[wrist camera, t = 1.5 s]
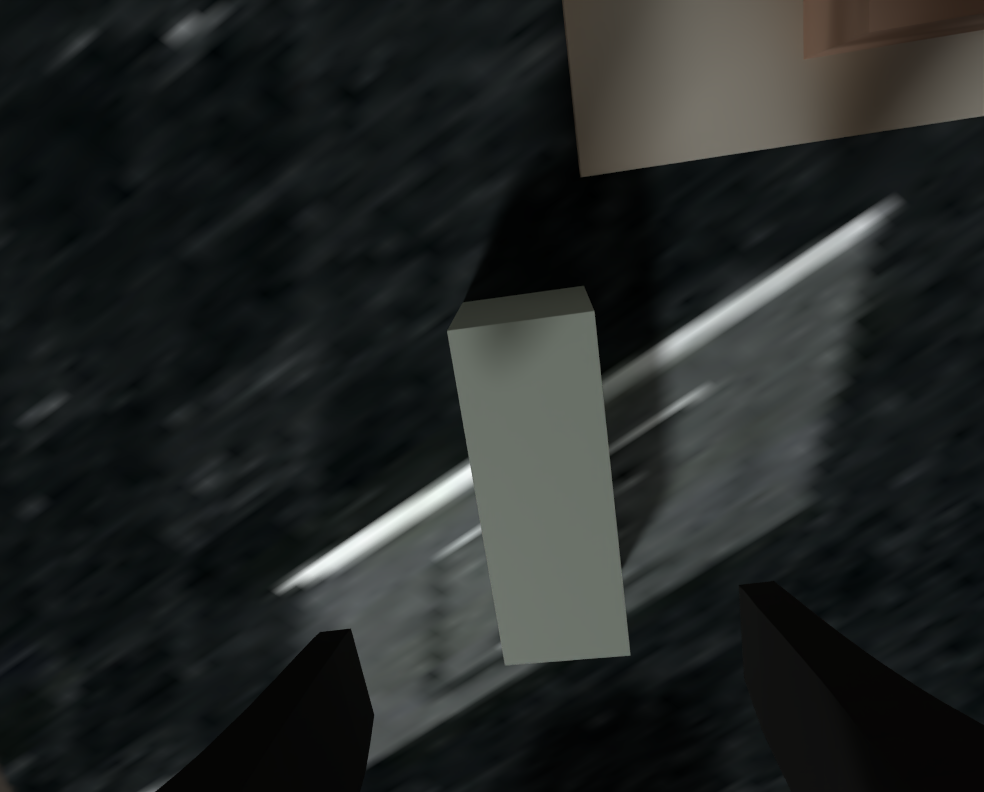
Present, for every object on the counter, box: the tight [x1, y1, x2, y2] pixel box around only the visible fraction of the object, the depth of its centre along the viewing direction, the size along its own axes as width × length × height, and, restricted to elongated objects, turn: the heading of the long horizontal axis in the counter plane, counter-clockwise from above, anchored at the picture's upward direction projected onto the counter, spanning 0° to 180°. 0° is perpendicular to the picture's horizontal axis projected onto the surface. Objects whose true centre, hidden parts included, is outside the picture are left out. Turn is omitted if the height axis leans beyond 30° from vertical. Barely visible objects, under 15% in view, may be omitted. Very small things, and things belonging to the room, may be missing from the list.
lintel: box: [447, 286, 630, 665], centre depth 20 cm, size 4×10×4 cm, turn 9°
